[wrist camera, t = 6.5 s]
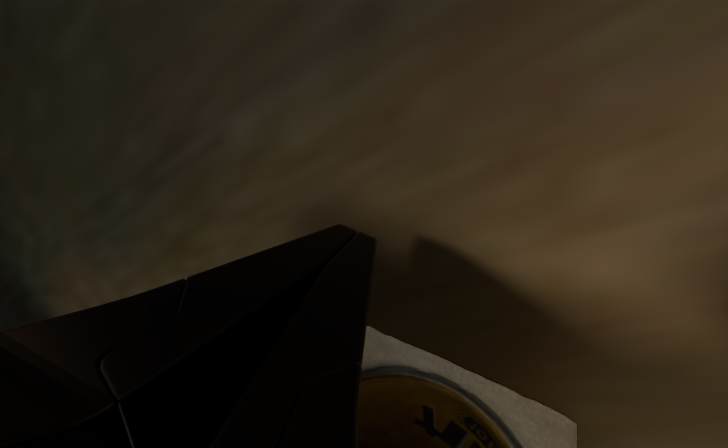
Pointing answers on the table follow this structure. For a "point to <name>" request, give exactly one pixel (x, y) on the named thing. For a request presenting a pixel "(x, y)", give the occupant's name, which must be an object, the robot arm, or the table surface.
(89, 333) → the robot arm
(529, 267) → the table surface
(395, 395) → the condiment
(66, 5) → the table surface
